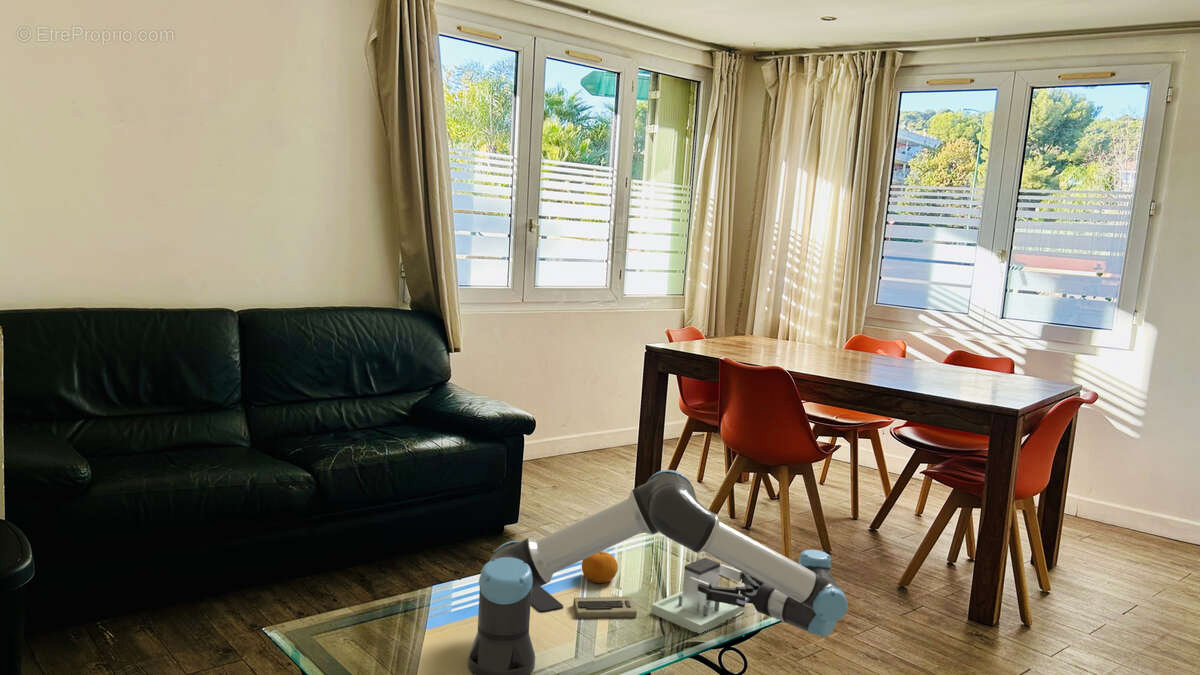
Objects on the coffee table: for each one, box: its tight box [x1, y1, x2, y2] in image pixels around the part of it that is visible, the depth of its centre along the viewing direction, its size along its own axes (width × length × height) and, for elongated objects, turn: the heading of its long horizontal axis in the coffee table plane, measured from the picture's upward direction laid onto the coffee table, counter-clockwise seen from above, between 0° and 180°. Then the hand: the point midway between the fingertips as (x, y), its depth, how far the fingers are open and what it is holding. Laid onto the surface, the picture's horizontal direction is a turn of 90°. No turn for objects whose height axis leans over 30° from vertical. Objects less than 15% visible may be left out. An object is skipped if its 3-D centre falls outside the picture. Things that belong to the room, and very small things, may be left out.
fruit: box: [581, 551, 619, 584], centre depth 253 cm, size 10×10×8 cm
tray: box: [650, 590, 746, 634], centre depth 235 cm, size 20×16×4 cm
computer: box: [572, 596, 638, 619], centre depth 232 cm, size 16×8×3 cm, turn 100°
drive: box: [681, 557, 721, 616], centre depth 234 cm, size 9×5×12 cm, turn 137°
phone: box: [530, 586, 564, 614], centre depth 237 cm, size 7×1×15 cm
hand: (705, 575), depth 234 cm, fingers open, 13 cm apart
